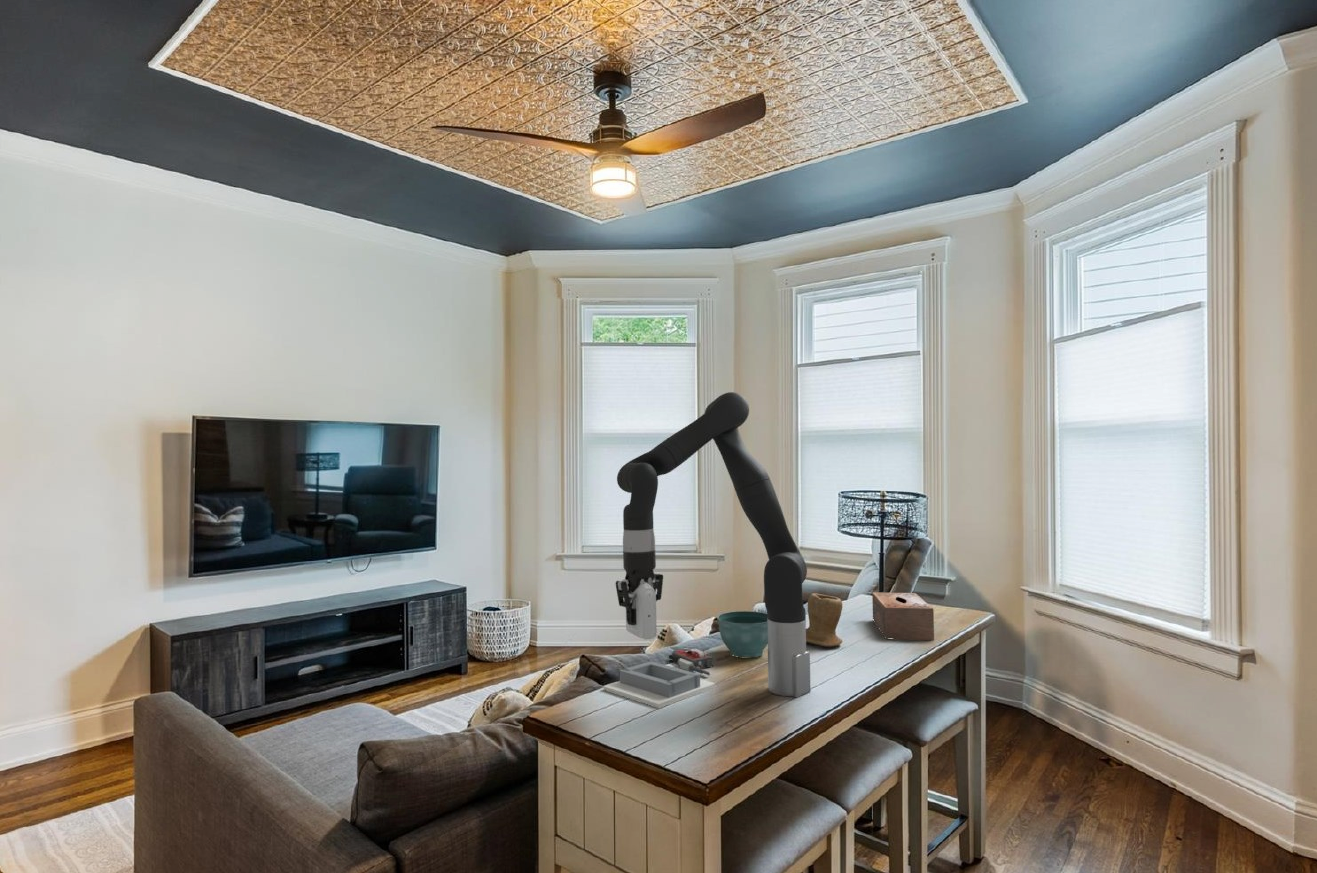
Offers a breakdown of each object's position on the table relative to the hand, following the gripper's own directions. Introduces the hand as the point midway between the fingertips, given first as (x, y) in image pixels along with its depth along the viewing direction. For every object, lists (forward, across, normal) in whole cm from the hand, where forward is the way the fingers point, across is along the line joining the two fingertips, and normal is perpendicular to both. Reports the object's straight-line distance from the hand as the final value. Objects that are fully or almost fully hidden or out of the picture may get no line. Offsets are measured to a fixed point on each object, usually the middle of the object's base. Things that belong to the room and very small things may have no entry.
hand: (641, 622), depth 161 cm
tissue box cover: (+21, +107, -16) cm, 110 cm away
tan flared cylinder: (+20, +75, -4) cm, 77 cm away
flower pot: (+19, +50, +6) cm, 54 cm away
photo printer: (+3, 0, 0) cm, 3 cm away
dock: (+19, +11, +5) cm, 22 cm away
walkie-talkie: (+20, +31, +10) cm, 38 cm away
